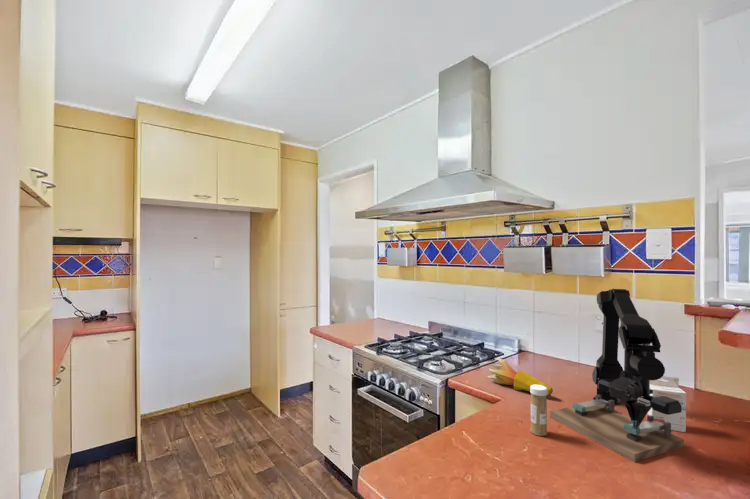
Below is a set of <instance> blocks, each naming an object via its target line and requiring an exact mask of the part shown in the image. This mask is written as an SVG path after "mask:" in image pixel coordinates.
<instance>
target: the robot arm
mask: <svg viewBox="0 0 750 499" xmlns="http://www.w3.org/2000/svg"><path fill="white" fill-rule="evenodd" d="M596 304H597V305H598V308H599V310H600V311H601V313H602V315H603V320H602V321H603V322H602V323H603V324H602V325H603V326H602V344H601V345H602V348H601V349H602V350H601V355H600V357H598V358H597V360H596V362H595V366H594V368H593V371H592V374H591V375H592V381H593V383H594V385H596V395H601V399H603V400H605V401H608V400H614V406H615V405H621V404H624V406H625V409H626V411H627V412H628V416H630V418H631V421H632V424H633V426H635V427H639V425H640V424H641V422H644V421H643V420H644V419H645V418H646V414H647V413H648V412H649V410H650V409H651V408H652V409H653V410H655V411H658V412H660V413H663V414H667V415H670V414H675V413H680V412H681V410H682V406H681V404H680V403H679V401H678V400H675V399H672V398H669V397H666V396H659V397H653V396H650V394H653V390H652V389H650V380H658V381H659V380H661V379H660V378H661V377H662V376H665V372H666V367H665V366H664V364H663V362H662V361H661V360H660V359H659V358H657V357H656V353H661V347H662V345H661V343H660V339H659V337H658V334H657V331H655V329H654V328H653V326H652V324H650V322H649V320H647V319H645V318H643V317H642V316H640V315H639V313H638V311H637V308H636V307H635V304H634V302H633V301H632V299H631V294H630V290H628V289H626V288H612V289H608V290H601V291H600V292H598V293H597V295H596ZM619 339H620V341H621V345H622V348H623V349H624V357H623V360H624V361H623V365H624V366H622V364H621V363H620V360H618V358H619V357H618V356H619V355H618V354H619V353H618V352H619ZM592 400H595V396H593V397H592Z"/></svg>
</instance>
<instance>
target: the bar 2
mask: <svg viewBox="0 0 750 499" xmlns="http://www.w3.org/2000/svg"><path fill="white" fill-rule="evenodd" d="M624 430H626V431H628V432H631V433H633V434H635V435H638V434H641V433H647V432H652V431H658V430H663V431H664V424H662V423H660V422H657V421H655V420H652V421H646V420H645V421H642V422H641V424H640V425H639V427H635V426H633V424H624Z"/></svg>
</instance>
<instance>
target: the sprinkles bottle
mask: <svg viewBox="0 0 750 499" xmlns="http://www.w3.org/2000/svg"><path fill="white" fill-rule="evenodd" d="M529 392H530V432H531V434H533V435H535V436H539V437H544V436H547V435H548V429H547V428H548V427H547V426H548V408H547V405H548V404H547V401H548V400H547V399H548V398H547V396H548V395H547V388H546V387H545V386H542V385H531V386H530V391H529Z"/></svg>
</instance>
